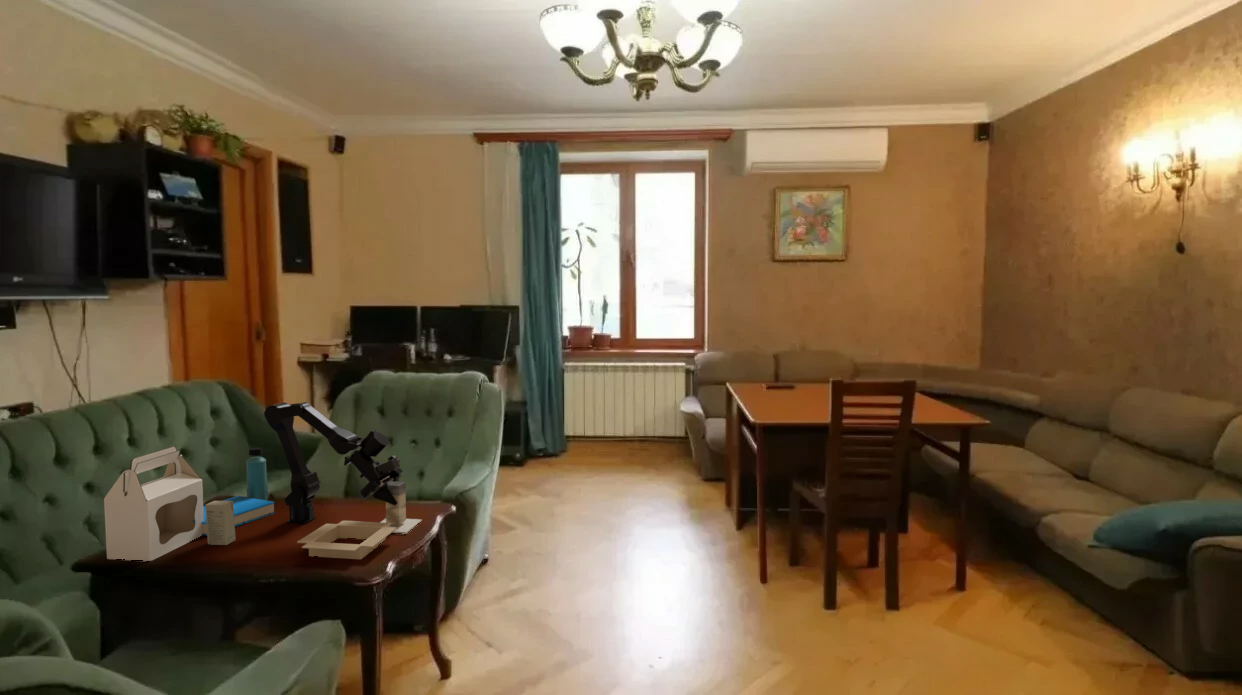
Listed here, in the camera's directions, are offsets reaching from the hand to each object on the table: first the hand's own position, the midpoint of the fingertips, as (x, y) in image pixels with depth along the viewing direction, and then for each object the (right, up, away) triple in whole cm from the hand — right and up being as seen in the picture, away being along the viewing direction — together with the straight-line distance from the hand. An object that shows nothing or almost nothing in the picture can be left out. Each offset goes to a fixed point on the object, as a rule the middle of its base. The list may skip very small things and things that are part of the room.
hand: (399, 502), depth 225 cm
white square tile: (-1, -8, +1) cm, 8 cm away
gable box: (-65, -9, -18) cm, 68 cm away
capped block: (-1, -7, +1) cm, 7 cm away
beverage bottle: (-56, -6, +22) cm, 61 cm away
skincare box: (-49, -9, -15) cm, 52 cm away
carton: (-10, -10, -17) cm, 22 cm away
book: (-58, -7, +4) cm, 59 cm away
